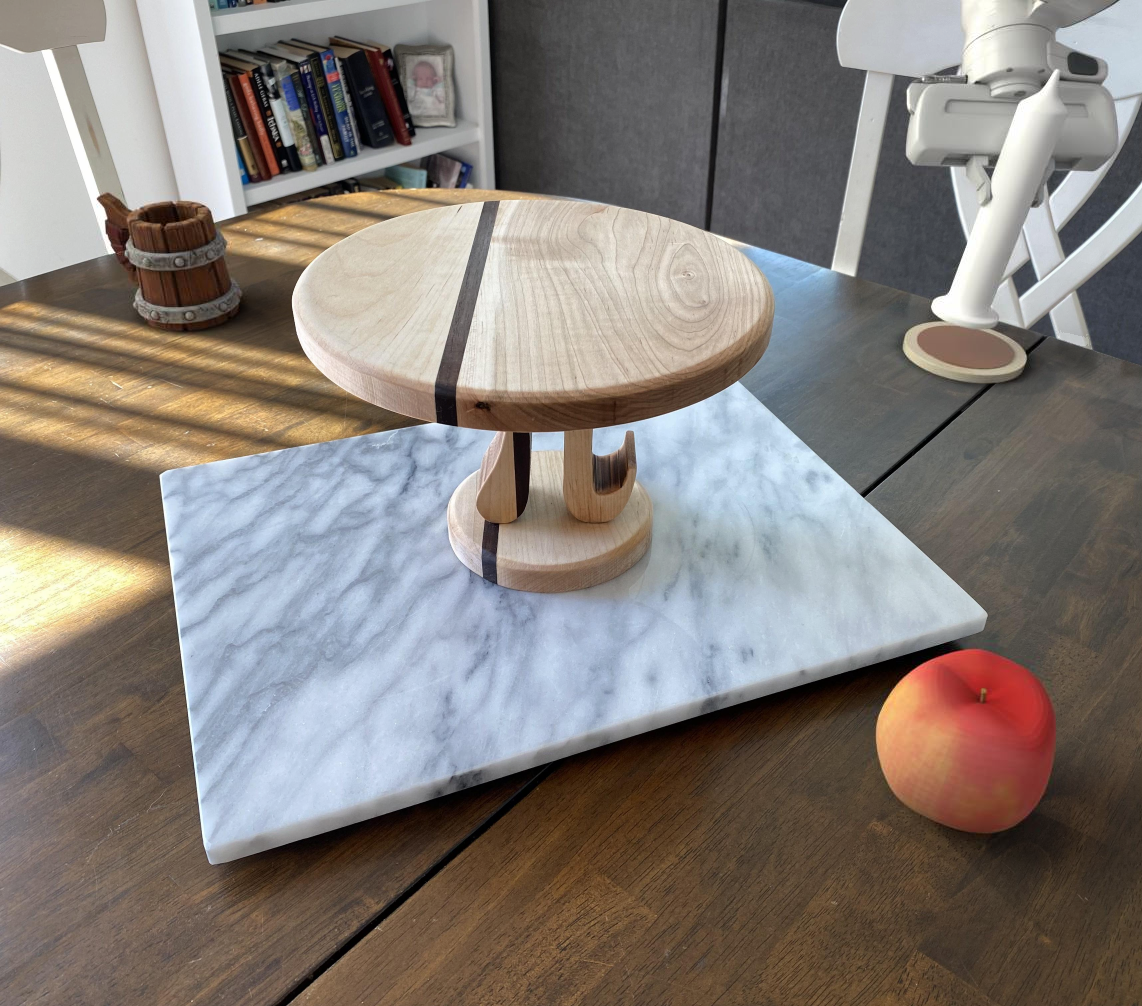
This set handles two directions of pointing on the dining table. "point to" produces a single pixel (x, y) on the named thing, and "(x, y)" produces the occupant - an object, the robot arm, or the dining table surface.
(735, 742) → the dining table surface
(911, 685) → the apple
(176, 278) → the mug
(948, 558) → the dining table surface
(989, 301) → the candle
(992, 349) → the coaster
